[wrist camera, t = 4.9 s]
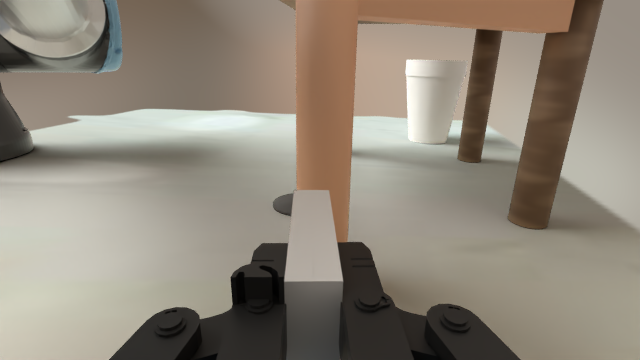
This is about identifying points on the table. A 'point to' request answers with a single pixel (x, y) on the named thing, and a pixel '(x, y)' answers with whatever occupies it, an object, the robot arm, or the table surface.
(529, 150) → the stool
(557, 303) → the table surface
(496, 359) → the robot arm
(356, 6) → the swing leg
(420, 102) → the foam cup
